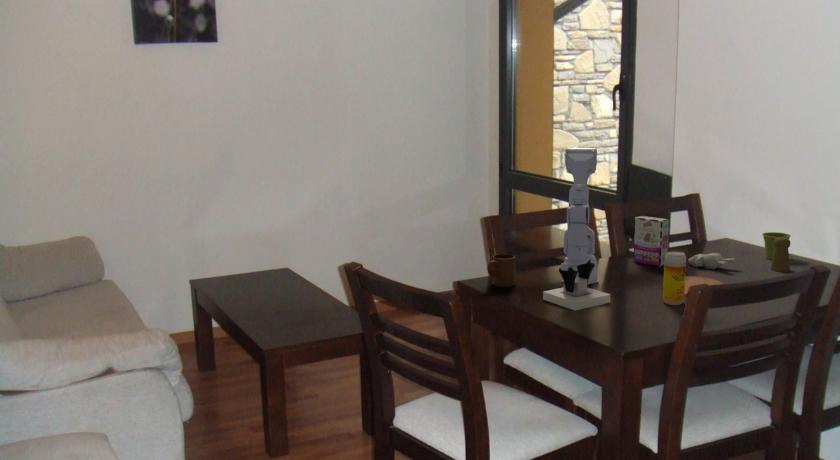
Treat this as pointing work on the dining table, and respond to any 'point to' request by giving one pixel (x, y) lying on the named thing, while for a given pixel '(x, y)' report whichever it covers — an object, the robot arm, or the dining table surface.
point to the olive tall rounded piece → (781, 255)
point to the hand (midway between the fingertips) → (576, 289)
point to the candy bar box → (650, 240)
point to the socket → (576, 298)
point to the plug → (578, 288)
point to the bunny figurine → (709, 261)
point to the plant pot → (772, 242)
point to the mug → (503, 270)
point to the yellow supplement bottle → (674, 278)
